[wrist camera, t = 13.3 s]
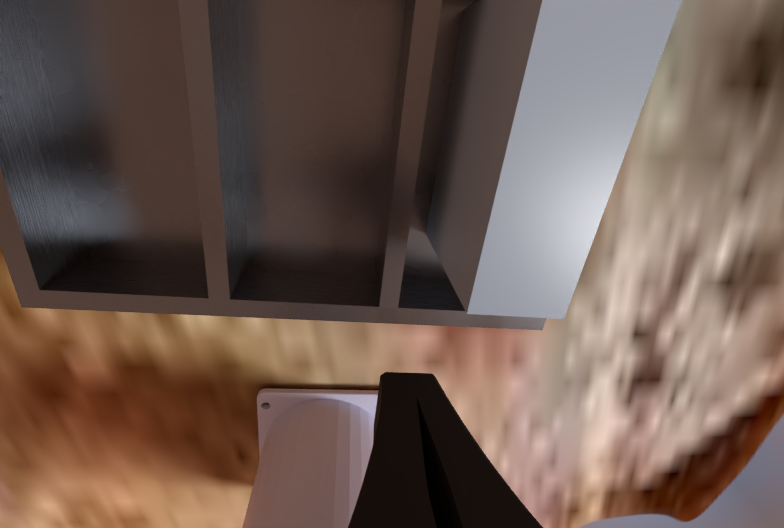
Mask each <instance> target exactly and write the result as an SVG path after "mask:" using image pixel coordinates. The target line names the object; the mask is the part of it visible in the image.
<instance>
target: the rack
mask: <svg viewBox="0 0 784 528" xmlns="http://www.w3.org/2000/svg"><path fill="white" fill-rule="evenodd" d="M475 1H476V0H0V246H1V249H2V252H3V255H4V258H5V261H6V264H7V266H8V269H9V272H10V275H11V278H12V281H13V284H14V286H15V289H16V292H17V295H18V298H19V301H20V304H21V307H27V308H50V309H73V310H96V311H119V312H141V313H164V314H187V315H210V316H233V317H255V318H278V319H301V320H324V321H347V322H369V323H392V324H415V325H438V326H461V327H483V328H506V329H529V330H542V329H543V327H544V324H545V321H546V318H535V317H517V316H498V315H479V314H467V313H466V311H465V309H464V307H463V305H462V303H461V301H460V299H459V297H458V295H457V294H456V292H455V290H454V288H453V286H452V284H451V282H450V280H449V278H448V276H447V274H446V272H445V270H444V268H443V266H442V264H441V262H440V260H439V258H438V256H437V255H436V253H435V251H434V249H433V247H432V245H431V243H430V241H429V239H428V237H427V235H426V231H427V225H428V219H429V213H430V207H431V201H432V195H433V189H434V183H435V177H436V171H437V166H438V160H439V154H440V148H441V142H442V136H443V130H444V124H445V118H446V112H447V106H448V100H449V95H450V89H451V83H452V77H453V71H454V65H455V59H456V53H457V47H458V41H459V35H460V29H461V24H462V18H463V12H464V9H465V8H467V7H468V6H469V5H471V4H472V3H473V2H475Z"/></svg>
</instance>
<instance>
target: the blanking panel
mask: <svg viewBox="0 0 784 528" xmlns="http://www.w3.org/2000/svg"><path fill="white" fill-rule="evenodd" d="M681 2H682V0H476V1H475V2H473V3H472V4H471V5H469V6H468V7H467V8H465V9H464V12H463V18H462V24H461V29H460V35H459V41H458V47H457V53H456V59H455V65H454V71H453V77H452V83H451V89H450V95H449V100H448V106H447V112H446V118H445V124H444V130H443V136H442V142H441V148H440V154H439V160H438V166H437V171H436V177H435V183H434V189H433V195H432V201H431V207H430V213H429V219H428V225H427V231H426V235H427V237H428V239H429V241H430V243H431V245H432V247H433V249H434V251H435V253H436V255H437V256H438V258H439V260H440V262H441V264H442V266H443V268H444V270H445V272H446V274H447V276H448V278H449V280H450V282H451V284H452V286H453V288H454V290H455V292H456V294H457V295H458V297H459V299H460V301H461V303H462V305H463V307H464V309H465V311H466V313H467V314H479V315H498V316H517V317H535V318H554V319H564V317H565V315H566V312H567V309H568V306H569V304H570V301H571V298H572V296H573V293H574V290H575V288H576V285H577V282H578V280H579V277H580V274H581V271H582V269H583V266H584V263H585V261H586V258H587V255H588V253H589V250H590V247H591V244H592V242H593V239H594V236H595V234H596V231H597V228H598V226H599V223H600V220H601V218H602V215H603V212H604V209H605V207H606V204H607V201H608V199H609V196H610V193H611V191H612V188H613V185H614V182H615V180H616V177H617V174H618V172H619V169H620V166H621V164H622V161H623V158H624V156H625V153H626V150H627V147H628V145H629V142H630V139H631V137H632V134H633V131H634V129H635V126H636V123H637V120H638V118H639V115H640V112H641V110H642V107H643V104H644V102H645V99H646V96H647V94H648V91H649V88H650V85H651V83H652V80H653V77H654V75H655V72H656V69H657V67H658V64H659V61H660V58H661V56H662V53H663V50H664V48H665V45H666V42H667V40H668V37H669V34H670V32H671V29H672V26H673V23H674V21H675V18H676V15H677V13H678V10H679V7H680V5H681Z"/></svg>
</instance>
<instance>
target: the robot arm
mask: <svg viewBox="0 0 784 528" xmlns="http://www.w3.org/2000/svg"><path fill="white" fill-rule="evenodd" d="M265 403H269V404H265ZM257 416H258V437H259V458H260V461H259V465H258V469H257V472H256V476H255V480H254V484H253V488H252V492H251V496H250V500H249V504H248V508H247V512H246V516H245V520H244V524H243V528H543V527H542V526H541V525H540V524H539V522H538V521H537V520H536V519H535V518H534V517H533V516H532V514H531V513H530V512H529V511H528V510H527V508H526V507H525V506H524V505H523V503H522V502H521V501H520V500H519V499H518V497H517V496H516V495H515V494H514V492H513V491H512V490H511V489H510V487H509V486H508V485H507V483H506V482H505V481H504V479H503V478H502V477H501V475H500V474H499V473H498V471H497V470H496V469H495V468H494V466H493V465H492V463H491V462H490V461H489V459H488V458H487V457H486V455H485V454H484V452H483V451H482V449H481V448H480V447H479V445H478V444H477V442H476V441H475V439H474V438H473V436H472V435H471V434H470V432H469V431H468V429H467V428H466V426H465V425H464V423H463V422H462V420H461V418H460V417H459V415H458V414H457V412H456V411H455V409H454V407H453V406H452V404H451V403H450V401H449V399H448V398H447V396H446V394H445V393H444V391H443V389H442V388H441V386H440V384H439V383H438V381H437V379H436V377H435V376H434V375H433V374H426V373H393V372H385V373H384V374H382V375H381V376H380V383H379V391H378V390H325V389H272V388H266V389H262V390H260V391H259V392H258V395H257Z"/></svg>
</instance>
